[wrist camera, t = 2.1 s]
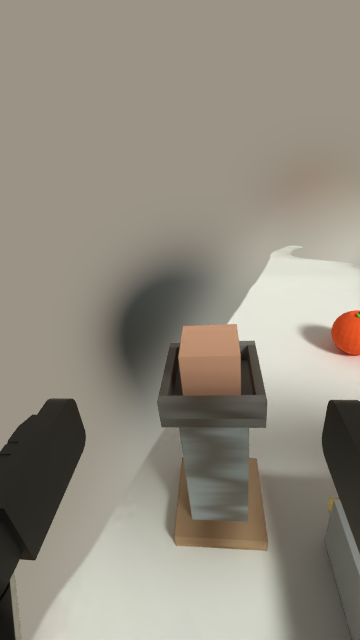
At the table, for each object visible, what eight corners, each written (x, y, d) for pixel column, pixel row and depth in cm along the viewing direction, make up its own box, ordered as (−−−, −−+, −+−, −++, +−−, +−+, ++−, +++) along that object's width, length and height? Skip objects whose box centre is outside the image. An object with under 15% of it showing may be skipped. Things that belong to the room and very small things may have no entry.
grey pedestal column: (256, 467, 34) (259, 337, 26) (267, 550, 27) (276, 407, 19) (183, 466, 35) (165, 340, 27) (176, 545, 28) (148, 407, 20)
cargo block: (237, 367, 25) (236, 324, 23) (240, 402, 21) (240, 355, 20) (187, 368, 26) (183, 326, 24) (184, 402, 22) (178, 357, 20)
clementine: (393, 354, 48) (404, 314, 45) (369, 373, 45) (379, 331, 42) (343, 335, 54) (350, 298, 51) (319, 350, 51) (325, 312, 48)
